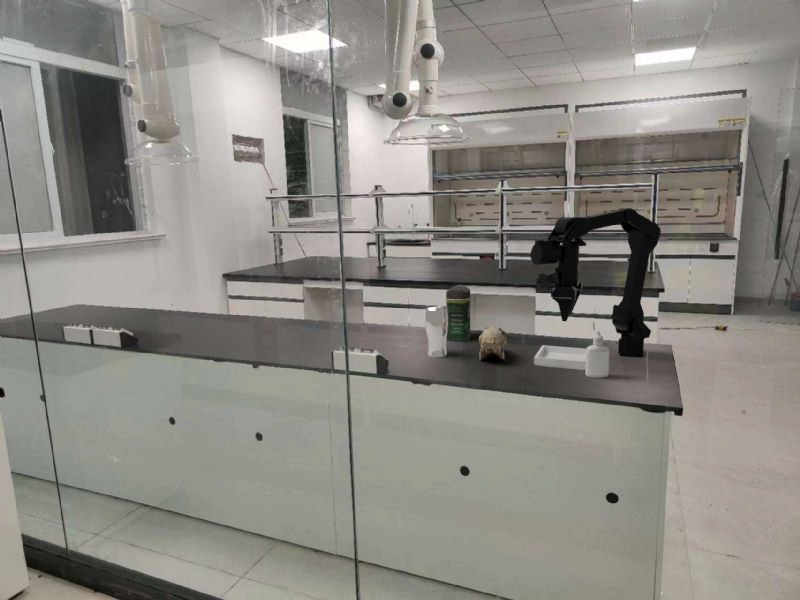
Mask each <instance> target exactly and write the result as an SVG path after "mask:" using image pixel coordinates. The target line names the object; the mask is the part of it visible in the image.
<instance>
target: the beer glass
mask: <svg viewBox="0 0 800 600" xmlns="http://www.w3.org/2000/svg"><path fill="white" fill-rule="evenodd" d="M424 314H425V315H424V325H425V332H426V338H427V343H428V348H427V349H428V351H427V355H428V356H429V357H434V358H441V357H446V356H448V352H447V340H446V339H447V333H448V311H447V308H446V306H438V305H437V306H428V307H426V308H425V313H424Z"/></svg>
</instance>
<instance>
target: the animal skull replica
mask: <svg viewBox="0 0 800 600" xmlns="http://www.w3.org/2000/svg"><path fill="white" fill-rule="evenodd" d="M478 343H479V346H480V351H479V352H478V356H479V357H478V360H479V362H482V361H485V360H487V359H488V358H491V357H495V358H497V359H499V361H503V362H505V361H506V359H505V352H504V351H505V349H504V347H505V346H506V345H508V340H507V337H506V331H505V330H503V329H502V328H501V326H500V327H496V326H492V327H489V326H486V327H485V328H484V329H483V332H482V333H481V334H480V335H479V337H478Z"/></svg>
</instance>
